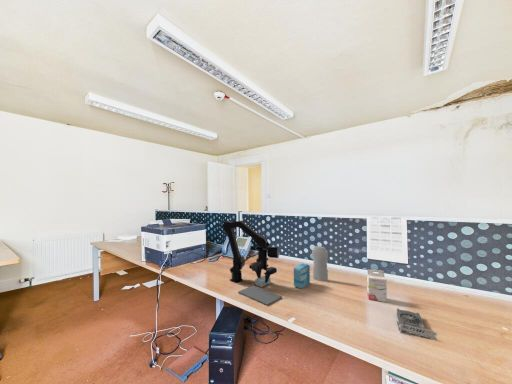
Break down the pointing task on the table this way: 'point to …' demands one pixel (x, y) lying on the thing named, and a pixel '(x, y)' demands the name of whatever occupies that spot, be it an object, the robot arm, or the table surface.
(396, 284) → the table surface
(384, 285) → the ink cartridge box
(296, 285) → the data package
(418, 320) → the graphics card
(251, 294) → the mat
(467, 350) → the table surface
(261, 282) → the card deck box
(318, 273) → the tall pale column
